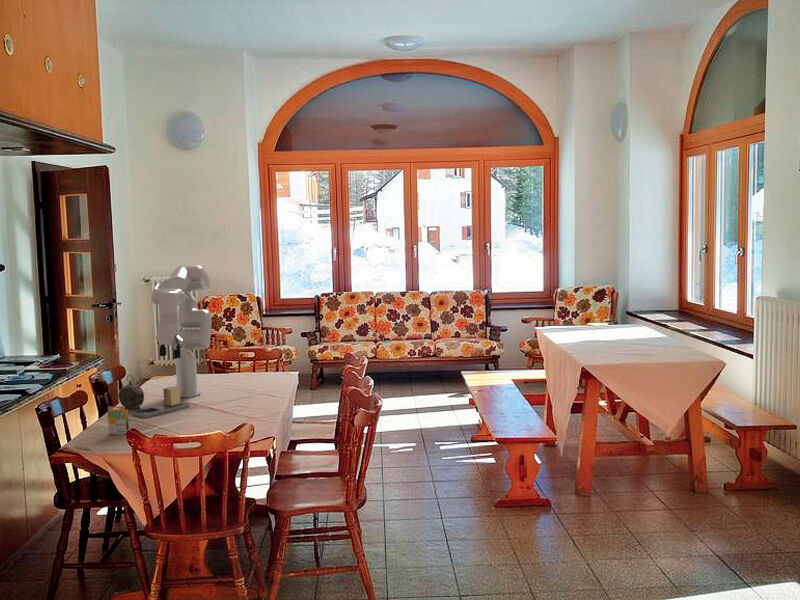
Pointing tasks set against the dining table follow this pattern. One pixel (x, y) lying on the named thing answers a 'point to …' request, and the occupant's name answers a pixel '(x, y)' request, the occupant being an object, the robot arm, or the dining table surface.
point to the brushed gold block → (171, 396)
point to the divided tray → (158, 410)
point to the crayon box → (118, 420)
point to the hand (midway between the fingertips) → (170, 357)
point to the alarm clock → (131, 396)
